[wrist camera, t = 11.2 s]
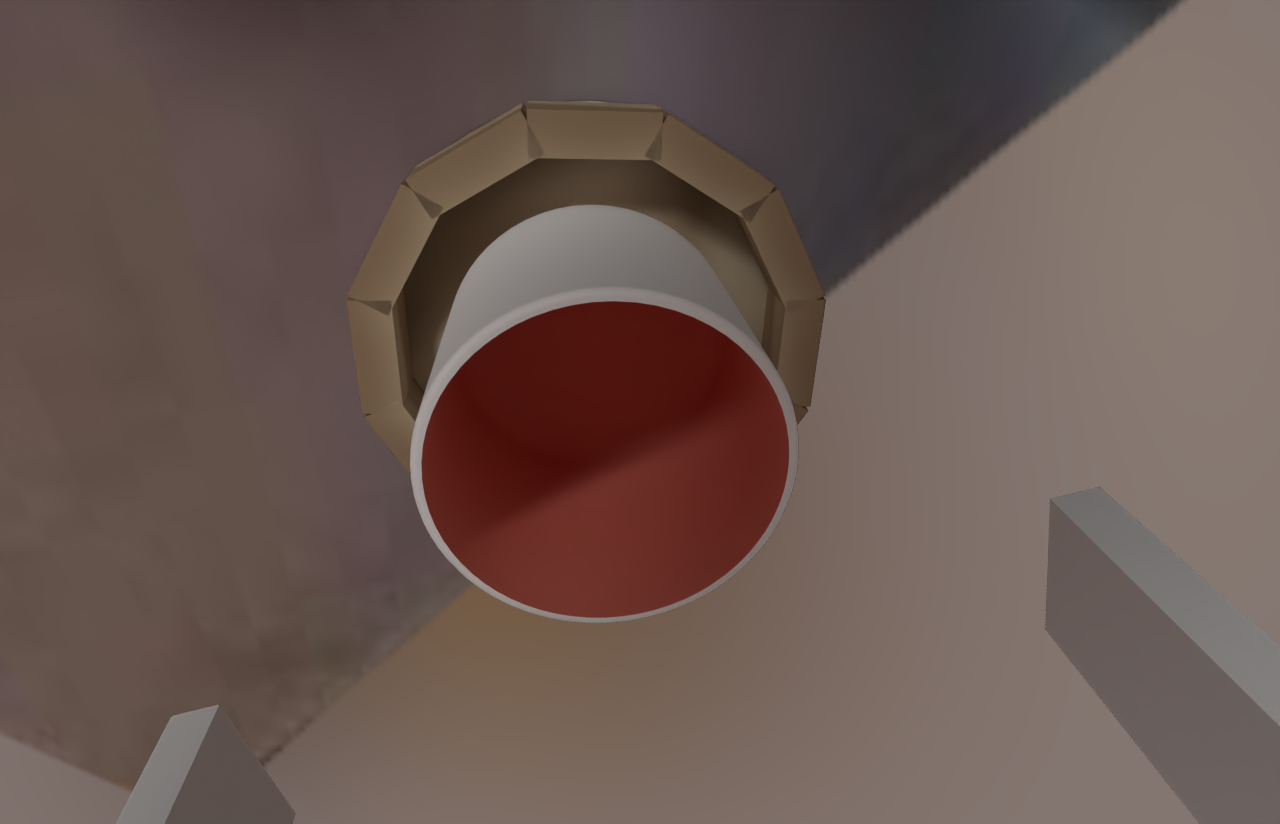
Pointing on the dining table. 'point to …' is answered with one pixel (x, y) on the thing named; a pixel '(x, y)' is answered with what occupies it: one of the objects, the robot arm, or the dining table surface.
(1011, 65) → the dining table surface
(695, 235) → the hub plate
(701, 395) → the cup
